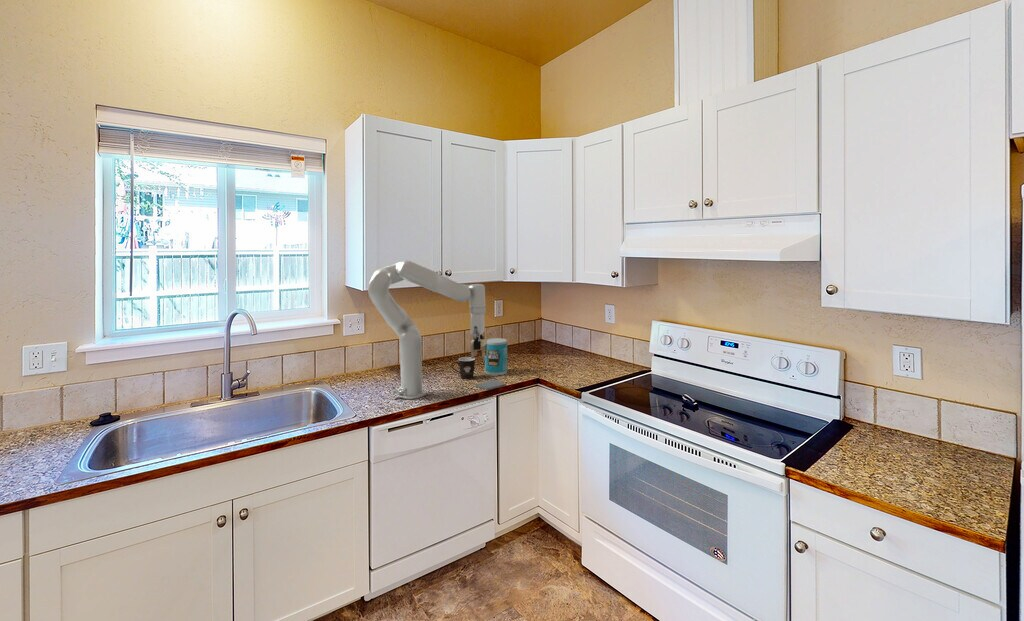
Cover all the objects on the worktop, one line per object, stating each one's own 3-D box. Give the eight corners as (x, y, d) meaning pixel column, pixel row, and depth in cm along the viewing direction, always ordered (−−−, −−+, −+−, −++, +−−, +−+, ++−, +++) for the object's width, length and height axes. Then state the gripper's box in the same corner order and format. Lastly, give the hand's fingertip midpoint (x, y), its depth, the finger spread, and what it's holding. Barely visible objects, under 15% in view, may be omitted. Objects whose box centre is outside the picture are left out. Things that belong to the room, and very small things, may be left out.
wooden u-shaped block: (471, 358, 210) (470, 342, 209) (474, 355, 216) (473, 339, 215) (484, 358, 209) (483, 342, 208) (487, 355, 215) (486, 339, 214)
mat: (486, 390, 213) (486, 388, 213) (475, 386, 219) (475, 384, 219) (506, 385, 220) (506, 383, 220) (494, 381, 227) (494, 379, 227)
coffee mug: (477, 376, 236) (477, 357, 235) (471, 380, 228) (471, 361, 227) (457, 374, 239) (456, 356, 238) (450, 379, 231) (450, 360, 230)
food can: (491, 377, 234) (491, 343, 232) (481, 371, 244) (480, 339, 242) (511, 373, 240) (511, 341, 238) (500, 368, 250) (500, 337, 248)
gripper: (474, 307, 219) (475, 343, 221) (464, 313, 202) (466, 352, 204) (489, 307, 217) (490, 343, 220) (481, 313, 200) (482, 352, 203)
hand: (479, 347), depth 212 cm, fingers closed on wooden u-shaped block, 6 cm apart
